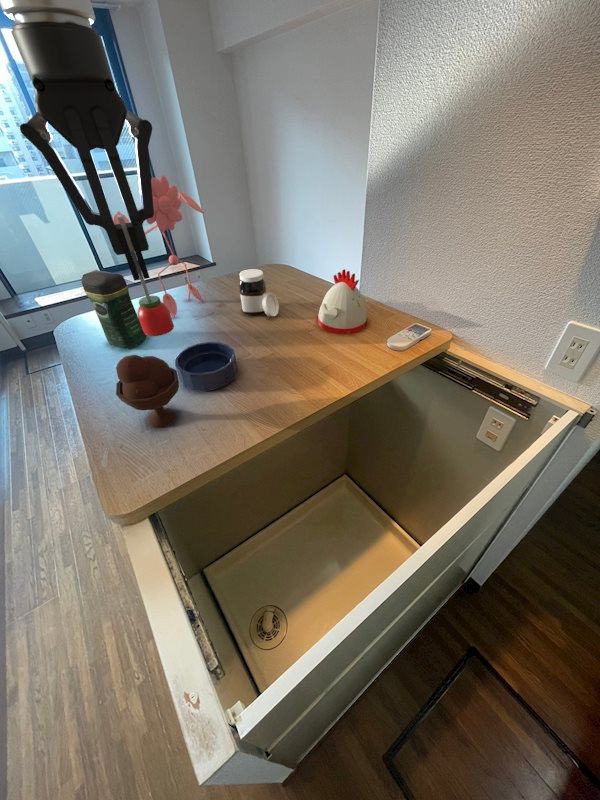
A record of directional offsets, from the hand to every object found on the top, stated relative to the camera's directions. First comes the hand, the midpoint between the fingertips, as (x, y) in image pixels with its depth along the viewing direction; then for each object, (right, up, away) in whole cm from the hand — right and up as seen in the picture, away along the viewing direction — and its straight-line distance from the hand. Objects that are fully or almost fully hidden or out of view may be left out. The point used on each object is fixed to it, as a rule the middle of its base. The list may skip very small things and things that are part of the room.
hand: (140, 275), depth 46 cm
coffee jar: (-24, -2, +43) cm, 49 cm away
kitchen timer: (+35, +5, +49) cm, 61 cm away
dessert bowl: (+1, -12, +31) cm, 33 cm away
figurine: (-11, +10, +56) cm, 58 cm away
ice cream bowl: (-5, -22, +20) cm, 30 cm away
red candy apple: (0, -6, +6) cm, 8 cm away
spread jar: (+10, +10, +55) cm, 57 cm away
